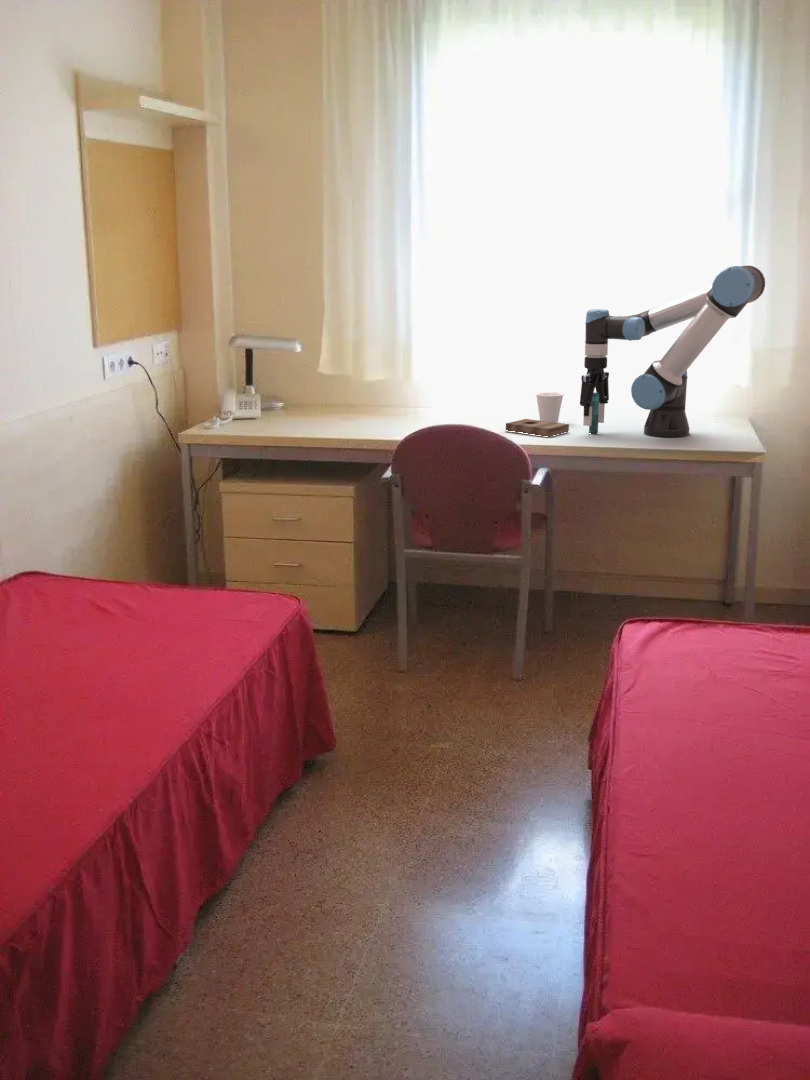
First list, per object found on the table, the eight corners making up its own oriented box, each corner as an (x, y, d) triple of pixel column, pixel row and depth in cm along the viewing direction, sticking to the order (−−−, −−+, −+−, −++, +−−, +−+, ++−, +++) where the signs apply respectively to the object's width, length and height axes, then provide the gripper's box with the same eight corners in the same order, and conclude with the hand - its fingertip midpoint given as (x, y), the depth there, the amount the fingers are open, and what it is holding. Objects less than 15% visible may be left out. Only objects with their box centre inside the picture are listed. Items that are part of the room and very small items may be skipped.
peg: (599, 433, 393) (600, 393, 389) (594, 435, 391) (596, 394, 387) (591, 433, 395) (593, 392, 391) (587, 434, 393) (588, 393, 389)
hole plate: (568, 432, 396) (568, 424, 395) (548, 437, 387) (549, 428, 386) (525, 427, 407) (526, 418, 406) (505, 431, 399) (505, 423, 398)
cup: (543, 427, 406) (544, 396, 403) (530, 423, 415) (530, 393, 412) (567, 425, 410) (568, 394, 407) (554, 421, 419) (555, 391, 416)
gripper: (602, 353, 396) (600, 419, 402) (569, 358, 381) (568, 426, 387) (621, 354, 391) (618, 421, 397) (589, 359, 376) (587, 429, 382)
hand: (593, 423), depth 392 cm, fingers open, 7 cm apart
